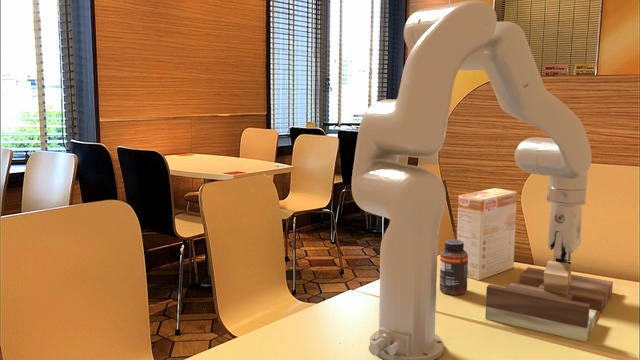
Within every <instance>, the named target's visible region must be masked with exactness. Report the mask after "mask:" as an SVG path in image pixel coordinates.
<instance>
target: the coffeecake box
mask: <svg viewBox="0 0 640 360" xmlns="http://www.w3.org/2000/svg"><path fill="white" fill-rule="evenodd" d="M517 198H518V191H516V190H515V191H514V190H507V189H504V188H496V187H495V188H494V187H493V188H490V189H489V188H488V189H484V190H479V191H474V192H469V193H464V194H461V195H458V199H457V201H458V202H457V203H458V204H457V205H458V206H457V228H456V230H457V233H456V240H461V241H463V242H464V248H463V249H464V251H466V252H467V254H468V274H467V278H470V279H473V280H476V281H481V280H483V279H487V278H489V277H492V276H494V275H497V274H499V273H503V272H506V271H509V270H510V269H513V268H514V265H515V263H514V261H515V260H514V259H515V243H516V242H515V241H516V240H515V238H516V220H517V201H518V199H517Z"/></svg>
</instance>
